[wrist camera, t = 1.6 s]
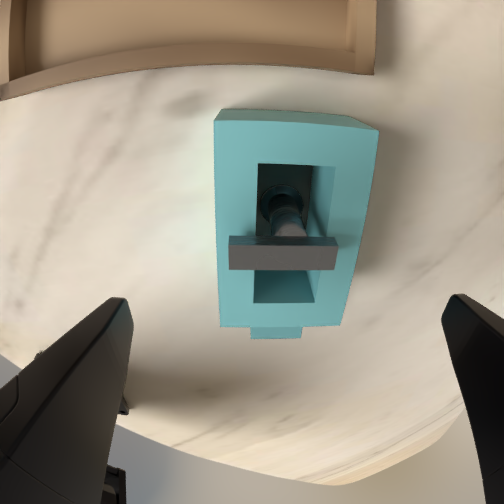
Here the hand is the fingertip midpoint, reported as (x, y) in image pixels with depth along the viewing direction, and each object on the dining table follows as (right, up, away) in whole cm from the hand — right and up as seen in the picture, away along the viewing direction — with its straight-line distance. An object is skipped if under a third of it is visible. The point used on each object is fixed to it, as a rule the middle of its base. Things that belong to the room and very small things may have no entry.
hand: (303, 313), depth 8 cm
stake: (0, +4, +6) cm, 7 cm away
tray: (-4, +13, 0) cm, 14 cm away
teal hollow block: (0, +4, +6) cm, 7 cm away
